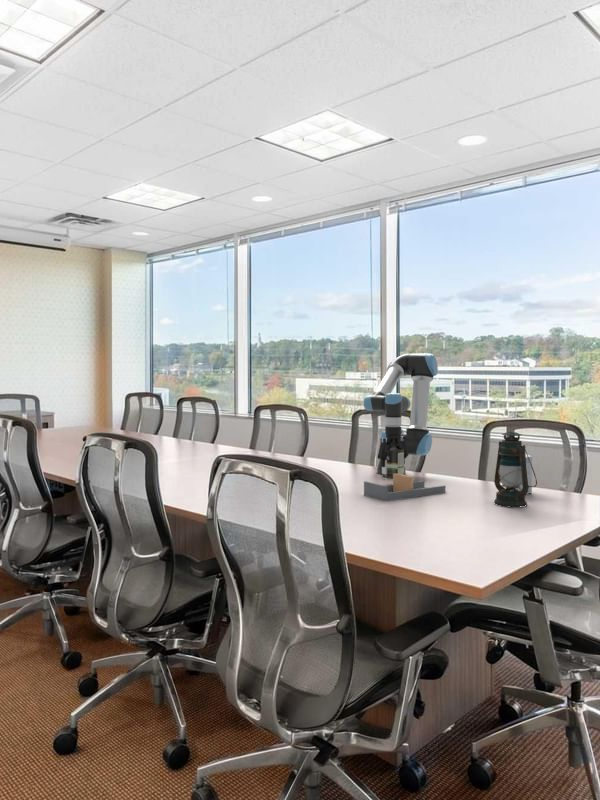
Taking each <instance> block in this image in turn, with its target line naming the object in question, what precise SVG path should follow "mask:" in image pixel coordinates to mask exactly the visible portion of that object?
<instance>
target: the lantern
mask: <svg viewBox="0 0 600 800" xmlns="http://www.w3.org/2000/svg"><path fill="white" fill-rule="evenodd" d="M501 435H503V439H502V440H501V441H500V440H499V442H498V449H497V450H498V451H497V457H496V464H495V473H494V482H493V483H494V486H495V488H496V490H497V492H496V495H495V499H494V502H493V504H494V503H495V504H494V505H496V504H497V505H496V506H498V505H501V506H500V507H503V506H510V507H509V508H514V507H515V508H521V507H520V506H525V505H527V506H528V504H527V503H528V502H527V500H526V495H528V494H527V492H528V488H529V487H532V488H535V487H537V484H538V480H537V476H536V473H535V470H534V467H533V463H532V464H531V462H530V464H531V467H532V474H533V475H534V478H535V485H532V486H528V478H527V468H526V455H525V454H528V453H527V449H526V447H527V446H526V445H525V444H523V445H522V440H520V438H521V437H520V436H523V434H521V433H518V432H513V431H508V432H504V433H501ZM528 455H529V454H528ZM528 455H527V457H528ZM528 459H529V457H528ZM529 461H530V459H529ZM521 483H522V484H521ZM520 484H521V485H523V489H520V488H519V487H520V486H519V485H520ZM515 488H519V489H520V490H521V491H518V490H516V489H515Z"/></svg>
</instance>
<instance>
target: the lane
mask: <svg viewBox="0 0 600 800" xmlns="http://www.w3.org/2000/svg"><path fill="white" fill-rule="evenodd" d="M443 493H446V485H436V486H428V487H425V481H424V480H419V481H413V490H405V491H398V492H393V484H387V485H384V484H380V483H374V482H371V481H367V480H366V481H365V480H364V481H363V496H367V497H370V498H374V499H378V500H381V501H385V502H389V501H395V500H401V499H409V498H410V499H411V498H416V497H422V496H429V495H437V494H443Z"/></svg>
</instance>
